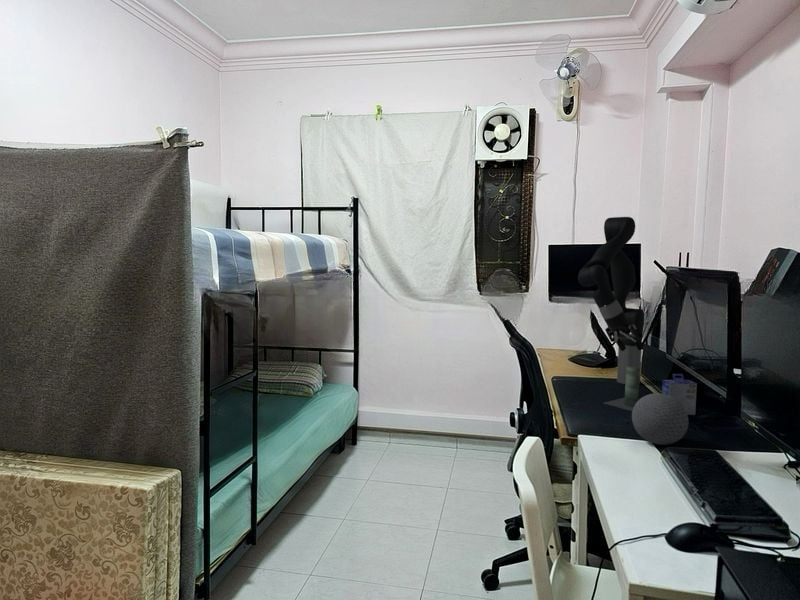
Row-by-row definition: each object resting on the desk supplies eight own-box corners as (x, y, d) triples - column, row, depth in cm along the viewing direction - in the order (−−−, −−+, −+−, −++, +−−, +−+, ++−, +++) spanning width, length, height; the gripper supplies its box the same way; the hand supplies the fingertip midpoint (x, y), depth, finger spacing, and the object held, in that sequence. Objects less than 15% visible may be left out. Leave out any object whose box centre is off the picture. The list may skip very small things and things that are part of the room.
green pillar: (628, 402, 188) (630, 365, 187) (640, 405, 185) (642, 368, 183) (621, 404, 186) (623, 367, 185) (633, 407, 182) (635, 369, 181)
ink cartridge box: (687, 412, 180) (690, 373, 178) (696, 417, 174) (698, 376, 173) (659, 412, 180) (662, 372, 179) (667, 417, 174) (670, 376, 173)
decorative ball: (671, 457, 139) (674, 404, 138) (620, 440, 151) (623, 392, 150) (696, 445, 148) (699, 396, 147) (646, 431, 160) (649, 385, 159)
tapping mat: (624, 399, 195) (624, 397, 195) (659, 409, 183) (659, 406, 183) (602, 405, 187) (602, 402, 187) (638, 415, 176) (638, 412, 175)
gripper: (633, 306, 185) (653, 343, 186) (605, 310, 198) (624, 345, 199) (620, 316, 182) (640, 354, 184) (592, 319, 196) (612, 355, 197)
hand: (632, 349), depth 192 cm, fingers open, 8 cm apart
